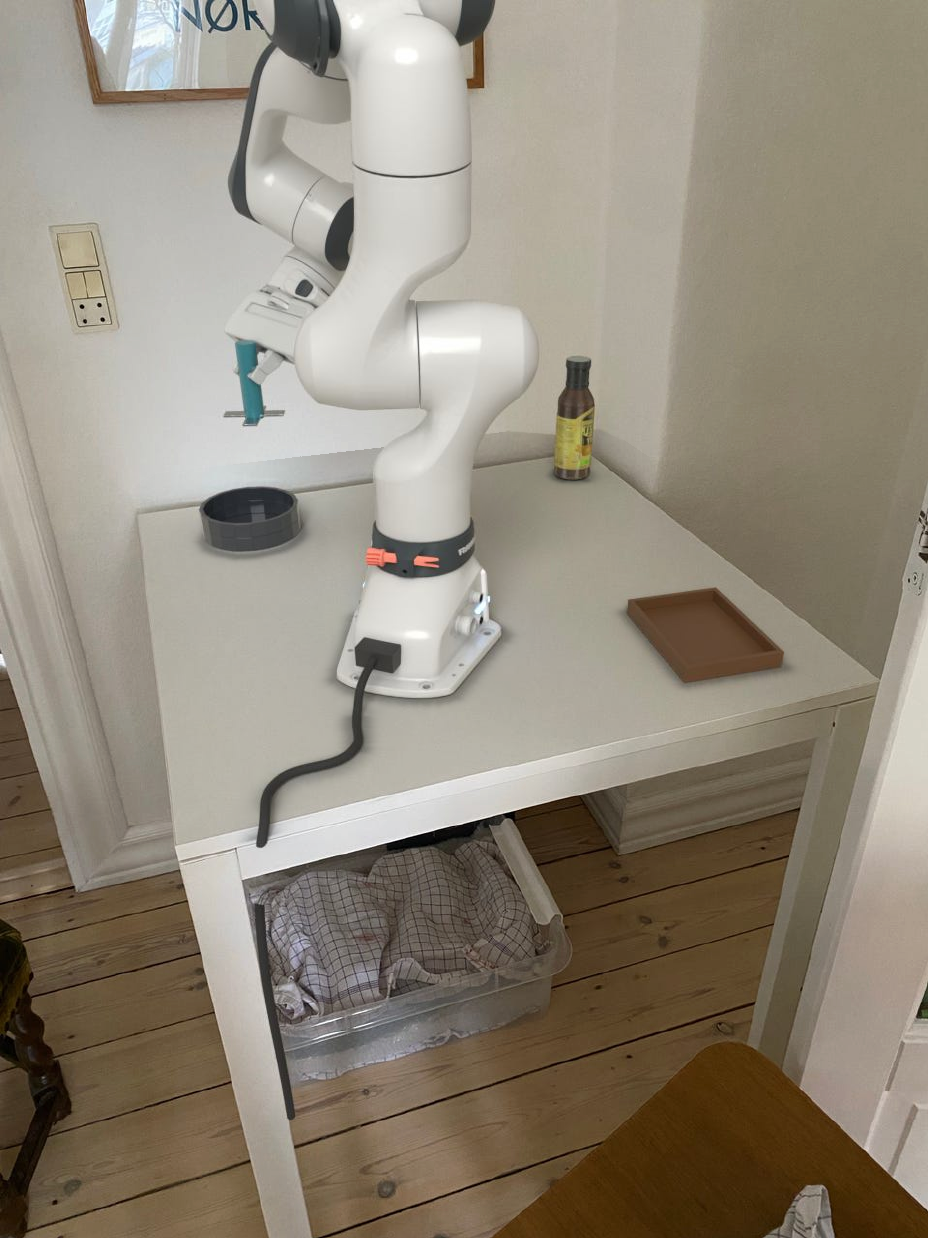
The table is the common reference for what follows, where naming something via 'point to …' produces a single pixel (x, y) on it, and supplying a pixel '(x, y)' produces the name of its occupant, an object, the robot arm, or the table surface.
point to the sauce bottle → (575, 422)
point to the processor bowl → (250, 518)
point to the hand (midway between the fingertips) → (245, 378)
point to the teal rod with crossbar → (250, 387)
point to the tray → (703, 634)
